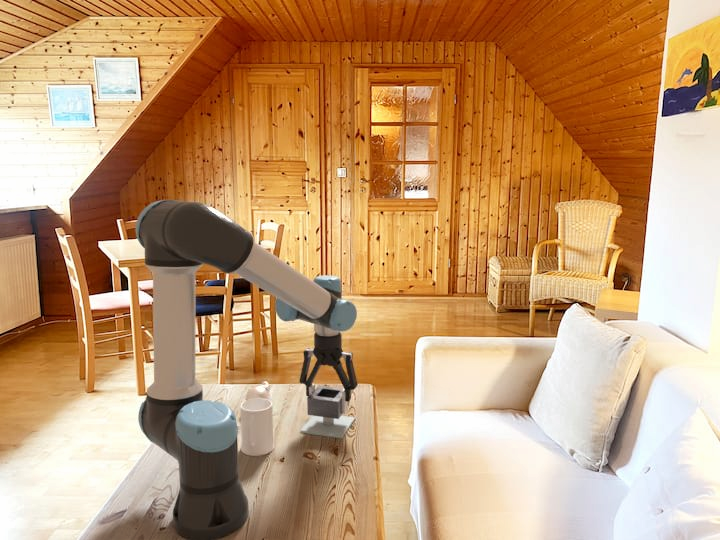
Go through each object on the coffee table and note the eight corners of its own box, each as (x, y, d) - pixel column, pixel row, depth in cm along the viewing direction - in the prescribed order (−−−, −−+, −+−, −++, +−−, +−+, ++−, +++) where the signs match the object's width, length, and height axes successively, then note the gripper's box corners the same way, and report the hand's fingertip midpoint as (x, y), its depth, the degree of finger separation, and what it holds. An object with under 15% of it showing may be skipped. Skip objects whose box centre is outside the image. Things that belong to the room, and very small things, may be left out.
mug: (263, 464, 134) (261, 418, 131) (230, 461, 135) (228, 415, 133) (278, 441, 145) (277, 399, 143) (248, 438, 146) (247, 396, 144)
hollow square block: (338, 419, 148) (338, 401, 147) (307, 414, 150) (307, 397, 149) (348, 405, 156) (348, 389, 155) (319, 401, 159) (319, 385, 158)
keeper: (341, 438, 147) (341, 417, 145) (300, 432, 150) (300, 411, 149) (355, 419, 158) (355, 399, 157) (316, 414, 161) (316, 394, 160)
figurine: (267, 370, 174) (259, 379, 159) (284, 387, 174) (277, 397, 159) (244, 393, 174) (233, 404, 159) (260, 410, 174) (251, 422, 159)
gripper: (369, 331, 149) (369, 408, 154) (296, 325, 156) (298, 399, 160) (362, 339, 142) (361, 420, 146) (285, 332, 149) (287, 409, 153)
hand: (328, 409), depth 153 cm, fingers closed on hollow square block, 9 cm apart
